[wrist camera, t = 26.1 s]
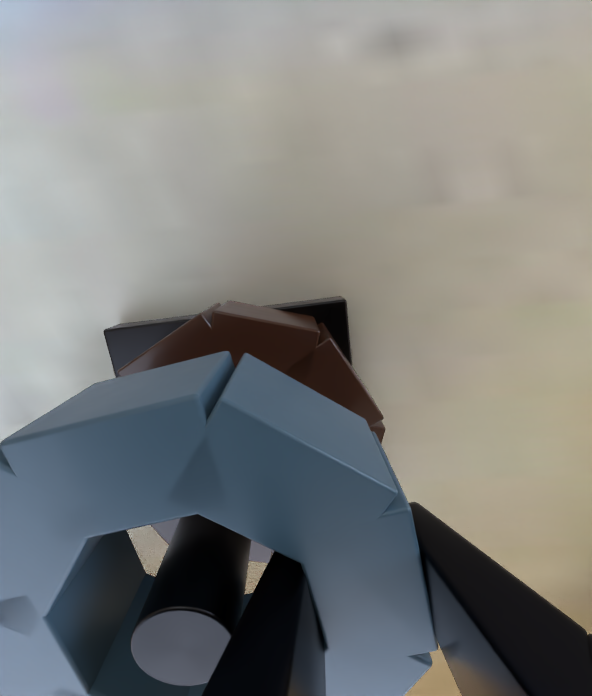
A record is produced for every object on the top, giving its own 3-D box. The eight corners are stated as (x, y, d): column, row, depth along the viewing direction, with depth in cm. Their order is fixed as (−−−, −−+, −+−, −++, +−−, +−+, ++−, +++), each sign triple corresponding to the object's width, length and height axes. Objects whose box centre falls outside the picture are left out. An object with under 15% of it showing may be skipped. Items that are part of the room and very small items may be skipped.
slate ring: (122, 675, 10) (63, 816, 7) (-18, 410, 8) (-166, 482, 5) (415, 617, 9) (459, 748, 7) (351, 318, 7) (380, 349, 5)
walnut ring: (334, 521, 15) (343, 575, 12) (133, 490, 14) (99, 540, 12) (385, 330, 13) (409, 347, 10) (152, 285, 12) (116, 291, 10)
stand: (358, 490, 16) (449, 789, 7) (166, 512, 16) (11, 837, 7) (341, 295, 13) (444, 365, 5) (117, 323, 14) (-209, 446, 5)
